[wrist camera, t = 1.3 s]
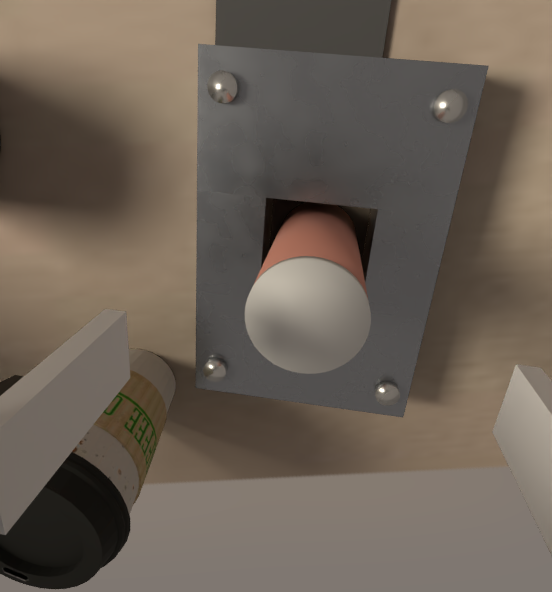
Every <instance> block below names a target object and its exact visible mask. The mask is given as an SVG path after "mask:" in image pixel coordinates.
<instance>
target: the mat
mask: <svg viewBox="0 0 552 592" xmlns="http://www.w3.org/2000/svg"><path fill="white" fill-rule="evenodd" d="M390 6H391V0H216V39H215V45H219V46H232V47H245V48H259V49H272V50H285V51H298V52H312V53H325V54H338V55H351V56H365V57H378V58H382V57H383V51H384V44H385V38H386V31H387V25H388V19H389V12H390Z"/></svg>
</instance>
